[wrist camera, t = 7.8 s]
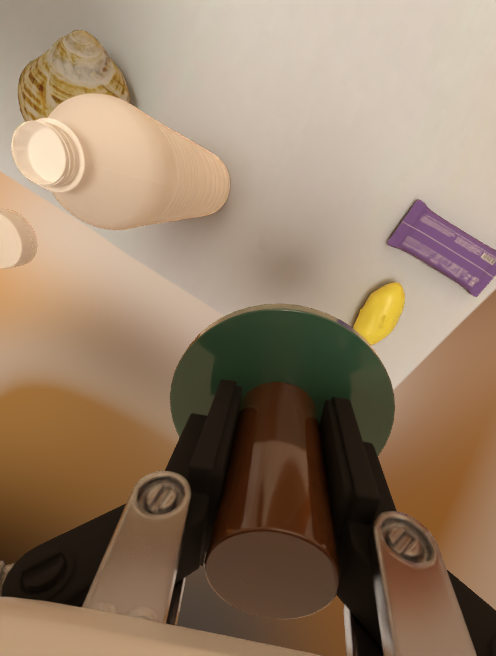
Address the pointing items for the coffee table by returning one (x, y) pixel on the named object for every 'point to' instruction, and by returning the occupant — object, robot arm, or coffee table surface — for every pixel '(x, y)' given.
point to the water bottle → (110, 170)
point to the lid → (280, 448)
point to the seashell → (68, 75)
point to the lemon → (380, 313)
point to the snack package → (445, 248)
